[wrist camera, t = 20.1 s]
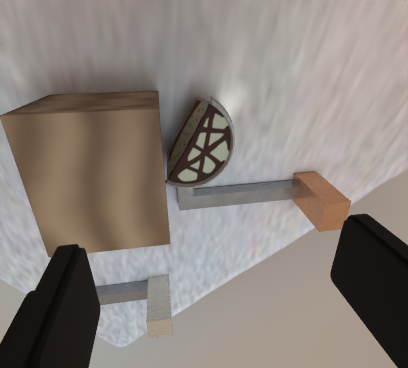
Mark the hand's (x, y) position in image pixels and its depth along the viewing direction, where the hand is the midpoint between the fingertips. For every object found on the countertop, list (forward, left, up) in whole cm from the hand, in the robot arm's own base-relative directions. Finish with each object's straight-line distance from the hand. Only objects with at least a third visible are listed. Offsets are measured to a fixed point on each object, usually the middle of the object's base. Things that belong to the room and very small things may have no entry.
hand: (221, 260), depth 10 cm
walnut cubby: (+9, +7, -33) cm, 35 cm away
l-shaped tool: (+12, +35, -33) cm, 50 cm away
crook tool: (-12, +12, -33) cm, 37 cm away
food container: (-4, +5, -34) cm, 34 cm away
